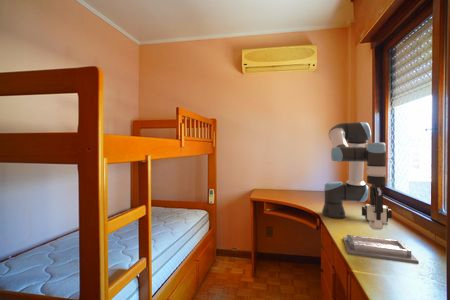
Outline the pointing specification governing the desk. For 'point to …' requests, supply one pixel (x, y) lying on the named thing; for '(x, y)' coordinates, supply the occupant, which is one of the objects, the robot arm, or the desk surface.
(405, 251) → the shallow rectangular tray
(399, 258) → the mounting board
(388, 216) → the pneumatic valve
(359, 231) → the desk surface
